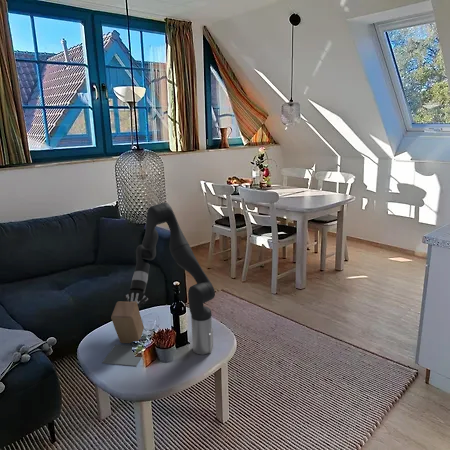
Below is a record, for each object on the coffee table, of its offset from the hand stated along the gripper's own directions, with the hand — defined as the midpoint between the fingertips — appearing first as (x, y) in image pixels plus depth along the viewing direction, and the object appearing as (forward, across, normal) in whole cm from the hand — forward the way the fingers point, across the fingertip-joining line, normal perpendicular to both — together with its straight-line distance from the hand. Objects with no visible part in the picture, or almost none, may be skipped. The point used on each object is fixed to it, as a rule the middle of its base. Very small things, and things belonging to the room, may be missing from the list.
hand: (131, 315), depth 194 cm
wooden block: (+8, 0, +6) cm, 10 cm away
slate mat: (+19, +2, -2) cm, 20 cm away
